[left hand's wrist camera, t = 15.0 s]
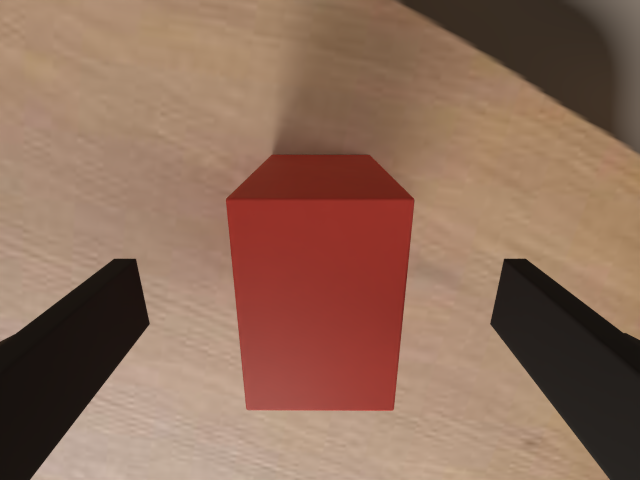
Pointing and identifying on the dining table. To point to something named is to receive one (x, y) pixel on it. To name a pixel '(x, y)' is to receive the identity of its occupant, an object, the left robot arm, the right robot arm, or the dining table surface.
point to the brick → (320, 282)
